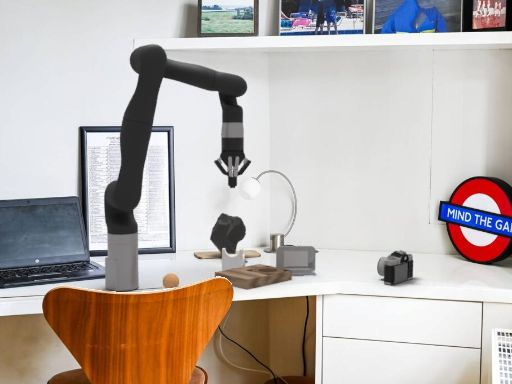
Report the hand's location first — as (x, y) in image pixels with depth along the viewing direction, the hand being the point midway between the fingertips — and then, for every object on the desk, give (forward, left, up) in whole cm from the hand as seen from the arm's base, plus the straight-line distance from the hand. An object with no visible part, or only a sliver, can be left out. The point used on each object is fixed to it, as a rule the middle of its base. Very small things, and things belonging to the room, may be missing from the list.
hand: (232, 187), depth 226 cm
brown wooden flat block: (-4, -14, -29) cm, 32 cm away
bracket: (+7, +7, -30) cm, 31 cm away
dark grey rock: (+15, +19, -29) cm, 38 cm away
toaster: (+15, -15, -29) cm, 36 cm away
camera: (+31, -44, -29) cm, 62 cm away
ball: (-31, -6, -26) cm, 41 cm away
